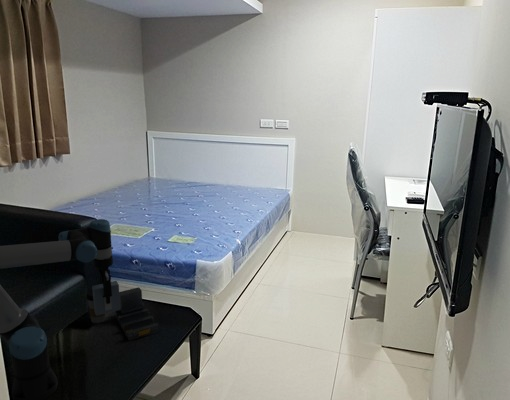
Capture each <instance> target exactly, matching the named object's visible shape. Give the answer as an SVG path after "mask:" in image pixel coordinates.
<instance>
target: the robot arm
mask: <svg viewBox="0 0 510 400" xmlns="http://www.w3.org/2000/svg"><path fill="white" fill-rule="evenodd" d="M111 232H112V230H111V225H110V221H108V220H107V219H102V218H100V219H94V220H92V221H90V223H89V226H88V227H82V228H76V229H71V230H70V229H69V230H66V231H65V230H64V231H61V232H59V234H58V240H57V241H56V240H54V241H44V242H43V241H42V242H32V243H31V242H30V243H19V244H8V245H7V244H6V245H0V269H9V268H18V267H28V266H34V265H36V266H37V265H44V264H53V263H60V262H62V263H63V262H69V261H70V262H71V261H79V262H81V263H90V262H93V266H94V268H96V269H97V271H98V278H99V284H103V288H104V296H103V298H104V305H105V311H106V310H110V309H112V304H111V296H112V290H111V282H112V275H111V270H110V269H109V267H112V265H113V264H114V258H113V249H114V247H113V245H112V236H111V235H112V233H111ZM0 336H1V337H2V338H3V340H4V341H5V342H6V344H7V346H8V350H9V355H10V358H11V363H12V364H11V365H12V369H13V370H12V371H13V376H14V378H13V384H12V388H11V399H12V398H13V399H12V400H46V399H47V398H49V397H50V396H52V395H53V394H54V393H55V392H56V391H57V389H58V387H57V386H59V381H58V378H57V377H58V376H56V374H55V372H54V370H53V369H52V367H51V363H50V356H49V350H48V349H49V348H48V338H47V335H46V332H45V330H43V329H42V328H41V326H40V323H39V321H38V319H37V318H36V317H35V316H33V315H32V314H30V312H29V311H28V310H27V309H26V308H20V306H18V305H17V304H16V302H15V300H14V299H13V298H12V297H11V296H10V295H9V294H8V292H7V291H6V289H4V288H3V286H2V285H1V284H0Z"/></svg>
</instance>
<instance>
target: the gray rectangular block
mask: <svg viewBox="0 0 510 400" xmlns="http://www.w3.org/2000/svg"><path fill="white" fill-rule="evenodd" d="M91 290H93V301H94V312H95V314H96V316H97V315H101V314H105V315H106V314H109V313H112V312H115V311H117V310H121V309H120V295H119V292H120V284H119V282H118V281H117V280H112V281H111V290H112V296H111V304H112V309H110V310H106V311H105V305H104V298H103V296H104V288H103V284H100V283H99V284H96V285H92V286H91Z"/></svg>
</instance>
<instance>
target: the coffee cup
mask: <svg viewBox="0 0 510 400" xmlns="http://www.w3.org/2000/svg"><path fill="white" fill-rule="evenodd" d="M86 301H87V307H88V312H89V316H90V320H91V323H93V324H95V323H98V324H101V322H102V323H103V322H104V321H105V320H106V313H105V314H101V315H97V316H96V314H95V312H94V301H93V290H92V289H91V290H89V291H87V293H86Z"/></svg>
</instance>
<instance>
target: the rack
mask: <svg viewBox="0 0 510 400" xmlns="http://www.w3.org/2000/svg"><path fill="white" fill-rule="evenodd" d="M119 295H120V309H121V310H117V311H114V316H115V318H116V320H117V322H118V324H119V326H120V327H121V330H122V331H123V333H124V335H125V336H126V338H127V341H128V342H130V341H133V340H138V339H139V338H144V337H147V336H151V335H154V334H158V333H160V325H159V322H158V323H157V322H155V321H154V319H155V318H154V315H150V312H149V309H148V308H145V303H144V301H143V292H142V289H141V287H139V286H138V287H134V288H131V289H127V290H123V291H122V290H121V291H119Z"/></svg>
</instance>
